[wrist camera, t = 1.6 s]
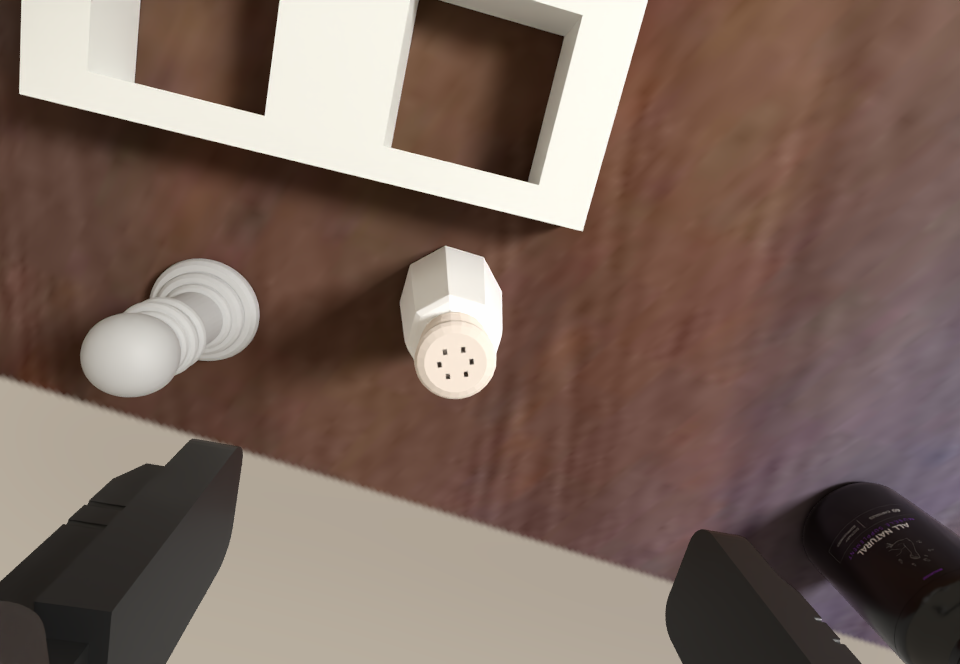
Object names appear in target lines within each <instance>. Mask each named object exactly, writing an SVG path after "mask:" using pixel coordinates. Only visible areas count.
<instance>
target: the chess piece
mask: <svg viewBox="0 0 960 664" xmlns="http://www.w3.org/2000/svg"><path fill="white" fill-rule="evenodd" d="M259 317H260V311H259V304H258V300H257V297H256V295H255V292H254V291H253V289H252V287H251V286H250V284H249V283H248V282H247V280H246V279H245V278H244V277H243V276H242V275H241V274H239V273H238V272H237V271H236V270H234V269H233V268H231V267H229V266H227V265H225V264H223V263H220V262H217V261H214V260H209V259H189V260H184V261H181V262H178V263H176V264H174V265H172V266H171V267H169V268H168V269H167V270H165V271H164V272H163V273H162V274H161V276H160V277H159V278H158V279H157V281H156V282H155V284H154V286H153V288H152V291H151V294H150V299H147V300H145V301H143V302H141V303H138V304H135V305H133V306H131V307H130V308H128V309H127V310H126V311H125V312H124V313H122V314H117V315H113V316H110V317H107V318H105V319H103V320H101V321H100V322H98V323H97V324H96V325H95V326H94V327H93V328H92V329H91V330H90V331H89V332H88V334H87V335H86V337H85V339H84V341H83V344H82V347H81V353H80V360H81V366H82V369H83V371H84V373H85V375H86V377H87V378H88V380H89V381H90V382H91V383H92V384H93V385H94V386H95V387H97V388H98V389H100V390H102V391H104V392H106V393H108V394H111V395H115V396H120V397H139V396H144V395H148V394H151V393H154V392H156V391H158V390H160V389H161V388H163V387H164V386H165V385H167V384H168V383H169V382H170V381H171V379H172V378H173V377H174V375H177V374H179V373H181V372H183V371H184V370H186V369H187V368H188V367H189V366H191V365H192V364H194V363H195V362H196V361H197V360H202V361H216V360H222V359H226V358H229V357H232V356H234V355H236V354H238V353H239V352H241V351H242V350H243V349H244V348H246V347H247V346H248V344H249V343H250V342H251V341H252V339H253V338H254V336H255V334H256V331H257V328H258V324H259Z"/></svg>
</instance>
